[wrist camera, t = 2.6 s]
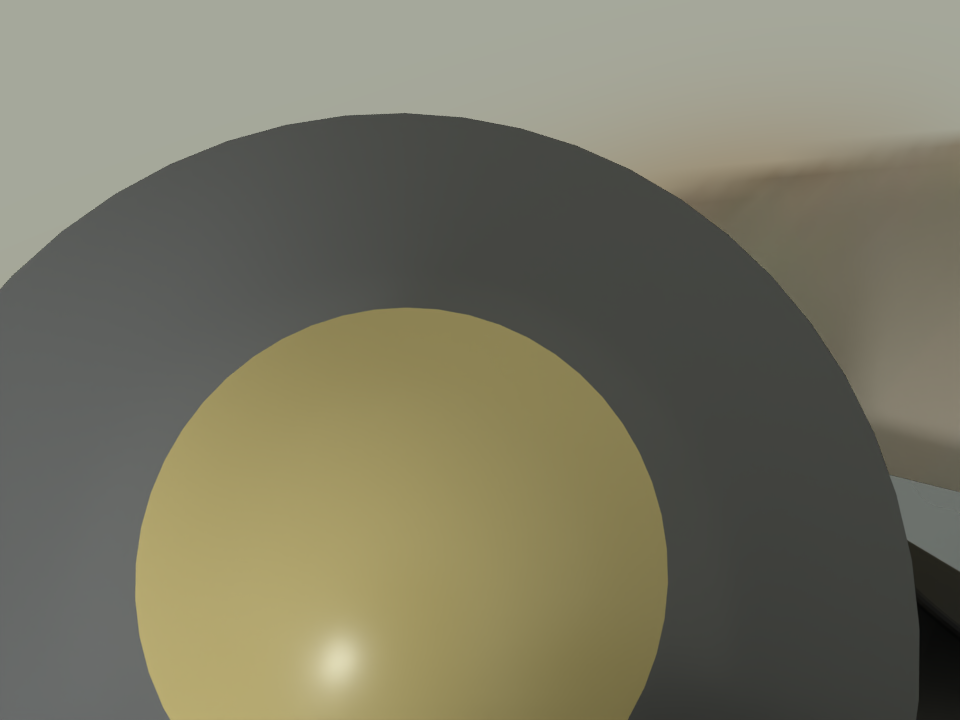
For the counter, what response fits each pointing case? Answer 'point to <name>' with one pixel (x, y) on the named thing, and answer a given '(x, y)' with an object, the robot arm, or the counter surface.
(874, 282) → the counter surface
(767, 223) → the counter surface
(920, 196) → the counter surface
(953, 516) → the housing
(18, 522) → the plug
